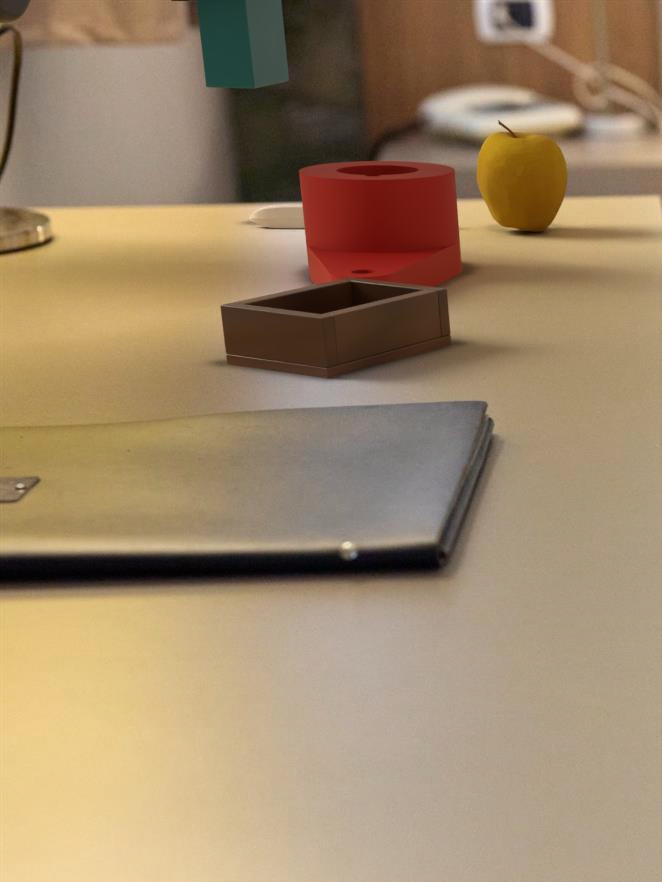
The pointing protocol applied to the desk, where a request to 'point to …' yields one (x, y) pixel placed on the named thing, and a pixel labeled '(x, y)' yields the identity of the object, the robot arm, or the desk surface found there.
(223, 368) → the desk surface
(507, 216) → the apple
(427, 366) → the desk surface
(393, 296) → the box
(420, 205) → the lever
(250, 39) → the box
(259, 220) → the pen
